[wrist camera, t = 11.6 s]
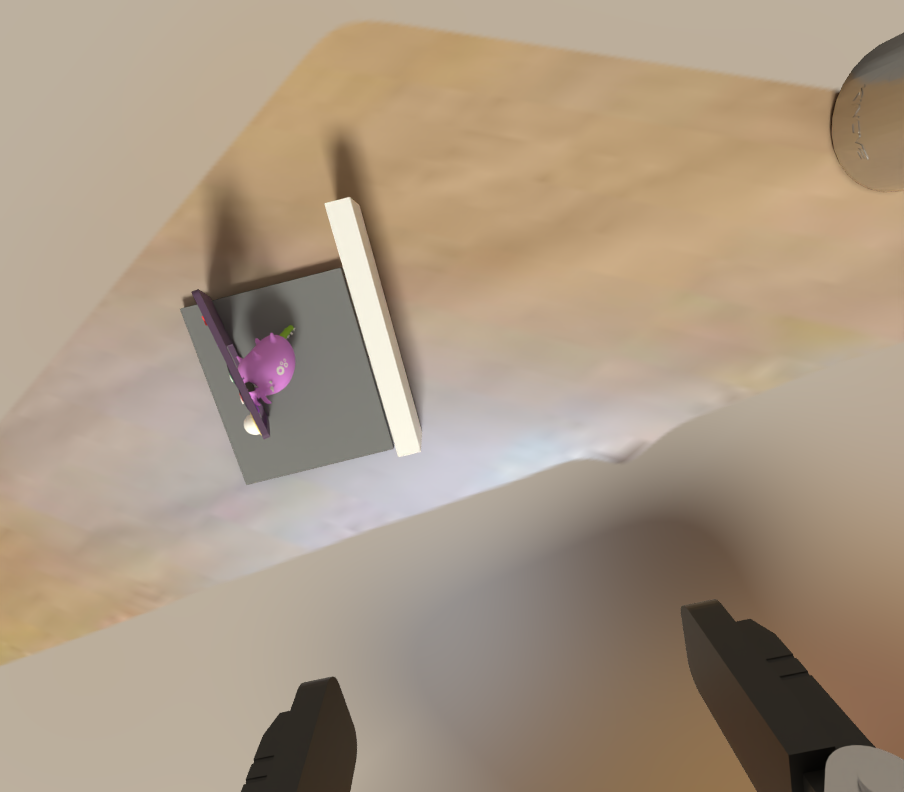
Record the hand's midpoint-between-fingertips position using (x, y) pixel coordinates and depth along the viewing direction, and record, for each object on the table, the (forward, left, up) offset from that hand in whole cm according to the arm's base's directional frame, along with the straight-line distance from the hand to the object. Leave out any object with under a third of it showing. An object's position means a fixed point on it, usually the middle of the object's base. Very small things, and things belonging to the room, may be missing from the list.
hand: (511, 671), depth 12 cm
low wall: (+4, -6, -26) cm, 27 cm away
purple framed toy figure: (+12, -6, -25) cm, 29 cm away
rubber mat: (+11, -4, -26) cm, 28 cm away
